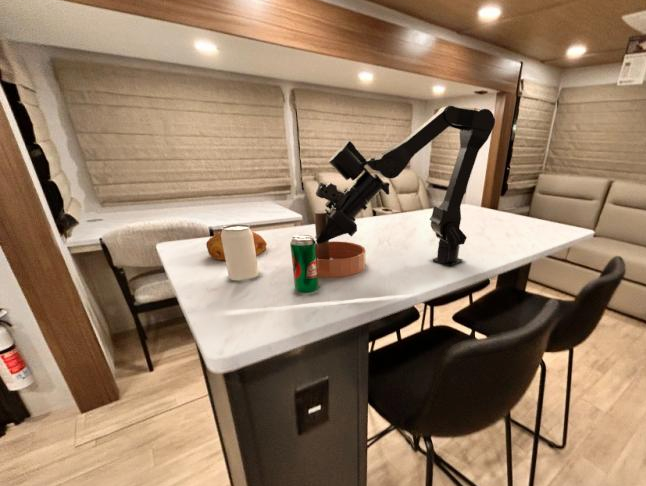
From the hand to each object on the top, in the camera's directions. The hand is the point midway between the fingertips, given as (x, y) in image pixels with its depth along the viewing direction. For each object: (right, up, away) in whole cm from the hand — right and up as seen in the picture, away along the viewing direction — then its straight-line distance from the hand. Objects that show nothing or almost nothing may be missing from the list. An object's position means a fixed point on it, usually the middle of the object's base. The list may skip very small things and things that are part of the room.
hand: (316, 240), depth 76 cm
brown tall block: (+1, -5, +3) cm, 6 cm away
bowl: (+3, -7, +5) cm, 9 cm away
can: (-17, -9, -3) cm, 19 cm away
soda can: (0, -12, -8) cm, 15 cm away
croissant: (-26, -2, +13) cm, 29 cm away
